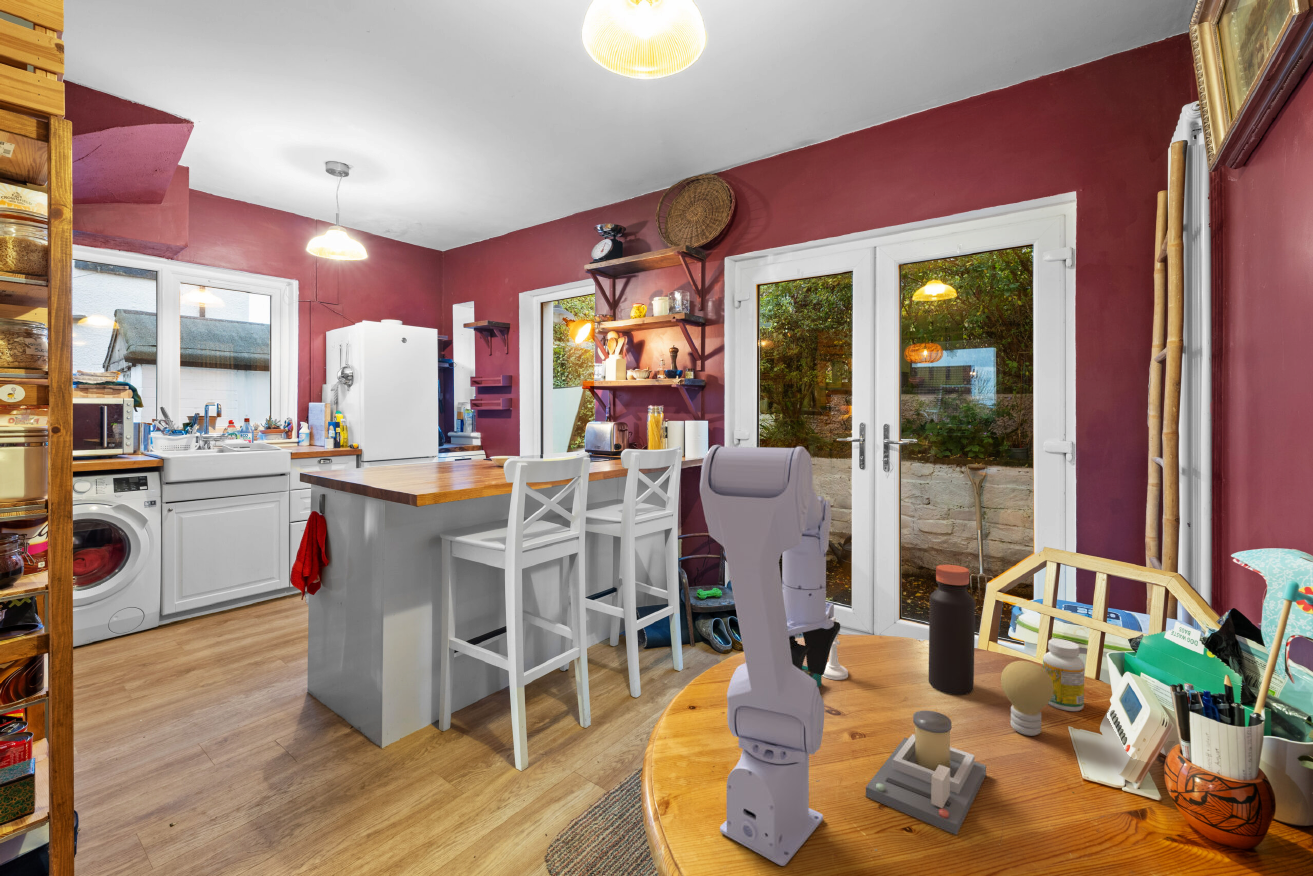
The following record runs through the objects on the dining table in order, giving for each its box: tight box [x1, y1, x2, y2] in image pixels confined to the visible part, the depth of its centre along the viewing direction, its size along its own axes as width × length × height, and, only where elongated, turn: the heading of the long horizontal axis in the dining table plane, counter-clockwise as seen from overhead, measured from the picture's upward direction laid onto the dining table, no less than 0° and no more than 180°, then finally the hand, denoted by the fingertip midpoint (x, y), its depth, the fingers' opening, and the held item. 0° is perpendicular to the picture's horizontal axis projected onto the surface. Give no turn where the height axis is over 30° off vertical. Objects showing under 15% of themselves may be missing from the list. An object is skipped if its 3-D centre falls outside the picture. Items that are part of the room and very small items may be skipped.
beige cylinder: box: [912, 709, 953, 771], centre depth 75 cm, size 4×4×6 cm
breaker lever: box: [931, 765, 950, 808], centre depth 68 cm, size 3×1×3 cm, turn 139°
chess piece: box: [822, 616, 849, 681], centre depth 104 cm, size 5×5×10 cm
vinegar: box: [928, 564, 976, 696], centre depth 98 cm, size 7×7×20 cm
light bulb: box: [1000, 660, 1053, 737], centre depth 85 cm, size 6×6×10 cm
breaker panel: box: [865, 733, 987, 836], centre depth 73 cm, size 14×10×2 cm
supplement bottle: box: [1042, 638, 1085, 712], centre depth 93 cm, size 5×5×10 cm
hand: (803, 682), depth 80 cm, fingers open, 7 cm apart
